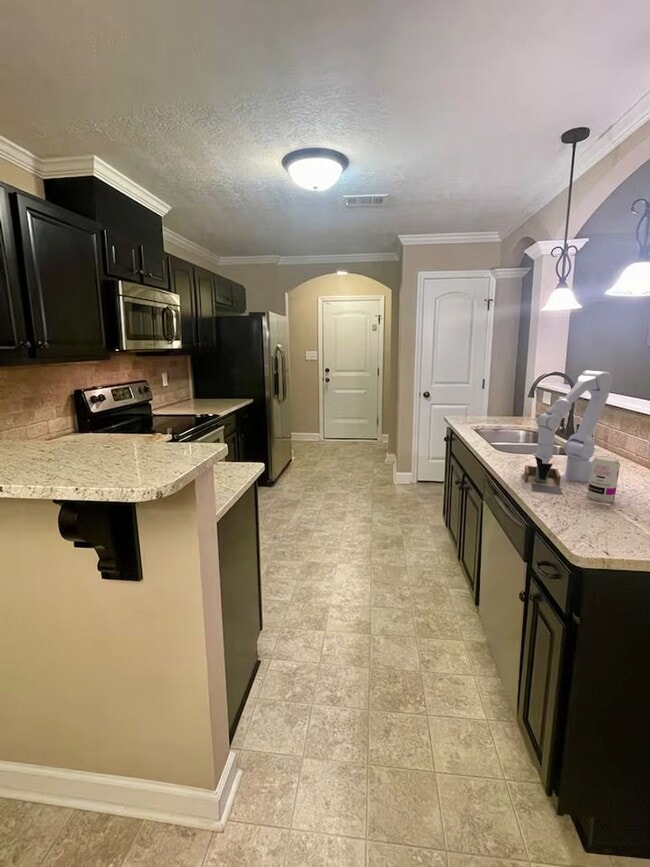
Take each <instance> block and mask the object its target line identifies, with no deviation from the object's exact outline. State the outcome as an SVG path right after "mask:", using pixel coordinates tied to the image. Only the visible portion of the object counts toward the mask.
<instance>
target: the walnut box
mask: <svg viewBox="0 0 650 867" xmlns="http://www.w3.org/2000/svg"><path fill="white" fill-rule="evenodd" d="M536 469H537V465H536V466H534V465H524V481H525V482H526V483H532V484H541V485H549V486H557V487H560V482H561V474H560V472H559V469H558V468H554V467H551V468H550V469H549V471H548V479H547V482H543V481H536V478H535V477H536Z"/></svg>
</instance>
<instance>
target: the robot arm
mask: <svg viewBox="0 0 650 867" xmlns="http://www.w3.org/2000/svg"><path fill="white" fill-rule="evenodd" d="M613 382H614V379H613V377H612V375H611V373H610V372H608V371H597V370H596V371H595V370H590V369H589V370H584V371H583V372H582V373H581V374H580V375H579V376H578V377H577V382H576V383H575V384H574V385H573V387H572V388H570V390H569V392H568V393H566V395H565V396H564V398H559V399H556V400H555V401H554V403H553V404H552V406H551V407H550V408H549V409H547V411H546V412H544V413H542V414H540V415H539V416H538V418H537V419H536V425H537V427H538V429H537V430H538V437H537V446H536V453H535V452H534V453H532V456H533V457H534V459H535V461H536V462H535V463H536V466H537V465H538V470H539V479H541V480H545V479H546V477H547V474H548V471H549V469H550V468H553V463H551V462H550V460H552V459H553V458H554V456H553V454H554V453H553V452H554V445H555V444H554V443H555V436H556V430H557V428H559V427H560V426H561V421H562V420H563V418H564V417H565V416H566V415H567V414H568V413H569V411H570V410H572V404H573V403H574V402H576V400H578V399H579V398H580V397H581V396H582V395H583V394H584V393H585V392H586V391H588V392H589V394H590V396H591V397H590V399H589V402H588V404H587V406H586V408H585V411H584V413H583V415H582V419H581V421H580V423H579V426H578V428H577V430H576V432H575V433H573V434H572V435H570V436H569V438H568V439H567V441H566V442H565V444H564V446H563V449H564V453H566V458H567V459H566V463H565V464H566V466H565V473H563V474H562V476H563V478H564V480H566V481H575V482H583V483H589V479H590V472H591V465H592V461H593V459H591V458H592V457H593V455H594V453H595V445H596V442H595V440H594V438H593V435H594V433H595V429H596V428H597V425H598V422H599V420H600V418H601V416H602V413H603V410H604V408H605V405H606V403H607V401H608V398H609V396H610V389H611V386H612V385H613Z"/></svg>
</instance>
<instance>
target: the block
mask: <svg viewBox="0 0 650 867" xmlns="http://www.w3.org/2000/svg"><path fill="white" fill-rule="evenodd" d="M536 466H537V469H536V477H535V478H536V481H543V482H547V479H548V474H547V477H546V479H545V480H541V479H539V470H538V465H537V464H536Z"/></svg>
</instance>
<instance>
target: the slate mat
mask: <svg viewBox="0 0 650 867" xmlns="http://www.w3.org/2000/svg"><path fill="white" fill-rule="evenodd" d="M531 489H532V490H531V491H532V492H534V493H536V492H537V493H543V494H552V495H559V496H564V494H563V492H562V489H561V486H557V485H549V484H540V483H531Z"/></svg>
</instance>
